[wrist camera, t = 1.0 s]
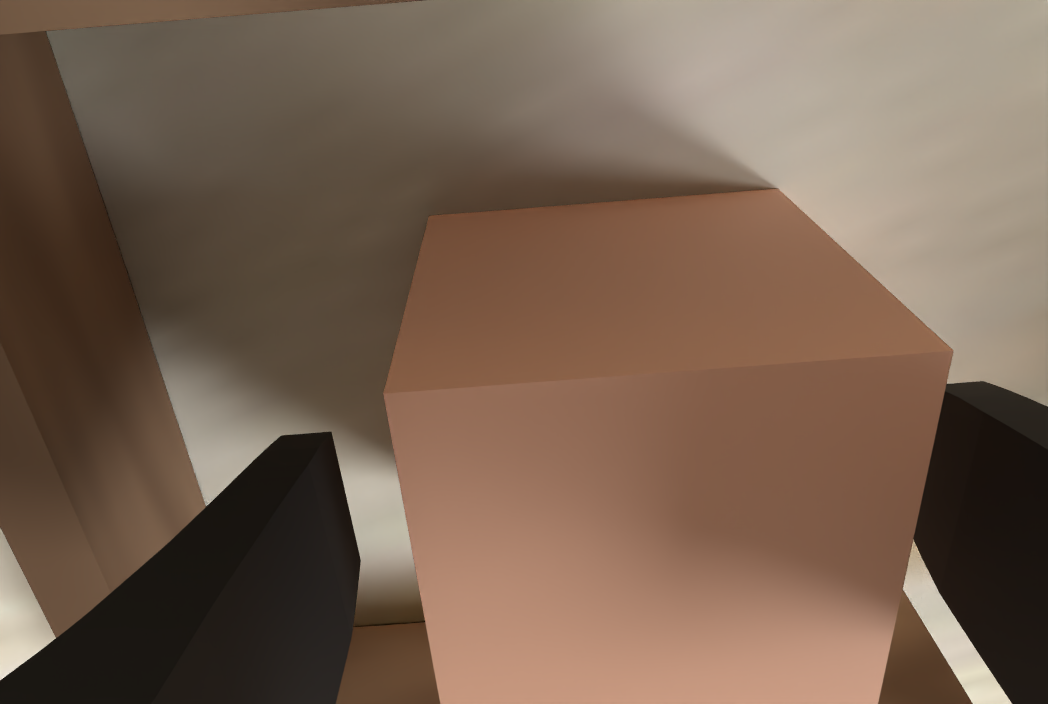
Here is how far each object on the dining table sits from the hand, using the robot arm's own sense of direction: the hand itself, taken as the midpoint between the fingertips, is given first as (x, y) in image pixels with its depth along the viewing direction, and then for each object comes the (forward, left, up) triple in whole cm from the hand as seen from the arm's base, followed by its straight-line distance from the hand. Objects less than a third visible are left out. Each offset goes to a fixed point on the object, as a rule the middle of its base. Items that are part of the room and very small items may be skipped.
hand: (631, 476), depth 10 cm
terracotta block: (0, 0, -3) cm, 3 cm away
